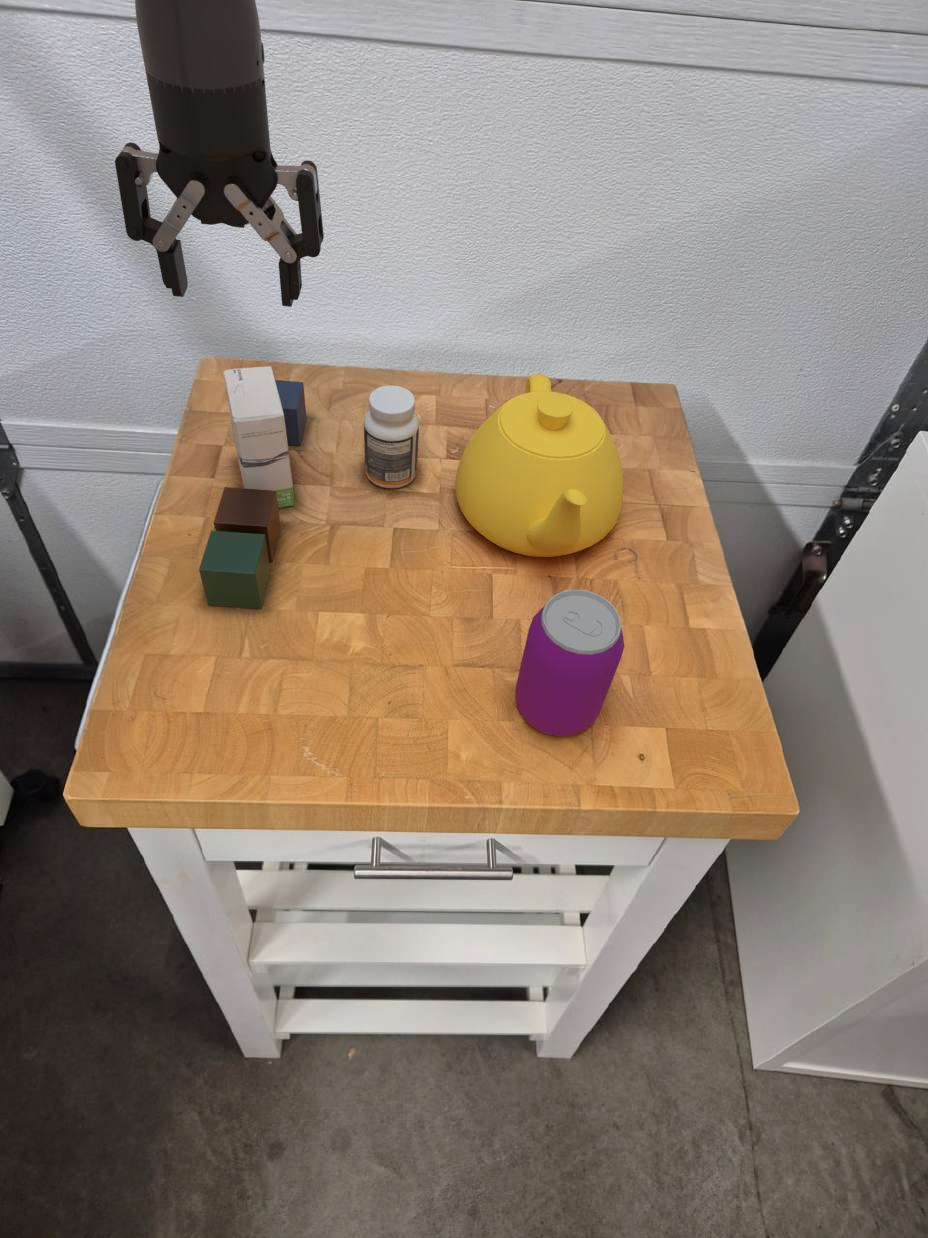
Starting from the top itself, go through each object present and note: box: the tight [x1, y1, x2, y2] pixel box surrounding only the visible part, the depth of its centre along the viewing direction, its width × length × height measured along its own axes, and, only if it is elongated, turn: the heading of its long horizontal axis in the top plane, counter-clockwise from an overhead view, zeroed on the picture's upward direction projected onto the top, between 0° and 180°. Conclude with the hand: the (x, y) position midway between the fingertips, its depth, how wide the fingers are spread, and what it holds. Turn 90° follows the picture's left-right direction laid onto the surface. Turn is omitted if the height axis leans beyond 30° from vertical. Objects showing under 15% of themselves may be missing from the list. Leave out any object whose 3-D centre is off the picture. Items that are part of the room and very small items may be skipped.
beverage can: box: [515, 588, 625, 737], centre depth 68 cm, size 8×8×12 cm
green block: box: [198, 530, 271, 610], centre depth 76 cm, size 5×5×5 cm
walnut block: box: [213, 486, 282, 563], centre depth 80 cm, size 5×5×5 cm
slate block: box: [275, 379, 307, 447], centre depth 91 cm, size 5×5×5 cm
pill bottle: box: [363, 384, 420, 489], centre depth 86 cm, size 6×6×10 cm
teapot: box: [454, 373, 625, 558], centre depth 82 cm, size 25×18×14 cm
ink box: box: [222, 365, 296, 509], centre depth 83 cm, size 9×5×12 cm, turn 17°
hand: (235, 296), depth 65 cm, fingers open, 8 cm apart
